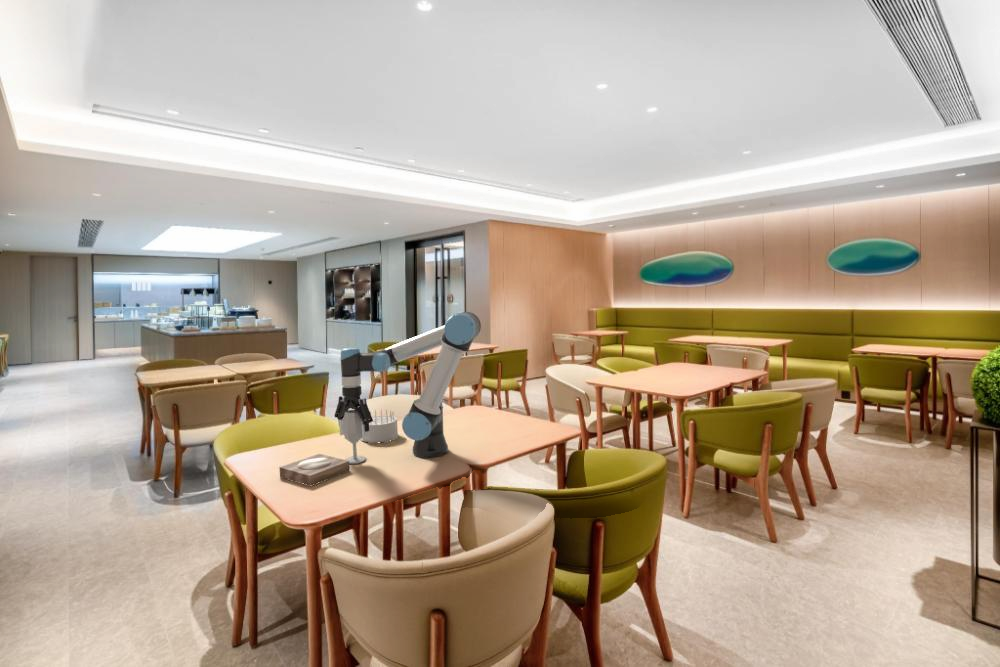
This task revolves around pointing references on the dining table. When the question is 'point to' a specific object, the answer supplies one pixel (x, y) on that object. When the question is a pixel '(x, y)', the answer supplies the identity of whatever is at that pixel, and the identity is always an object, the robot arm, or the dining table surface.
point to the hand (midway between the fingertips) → (354, 436)
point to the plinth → (314, 469)
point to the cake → (382, 428)
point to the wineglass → (353, 434)
